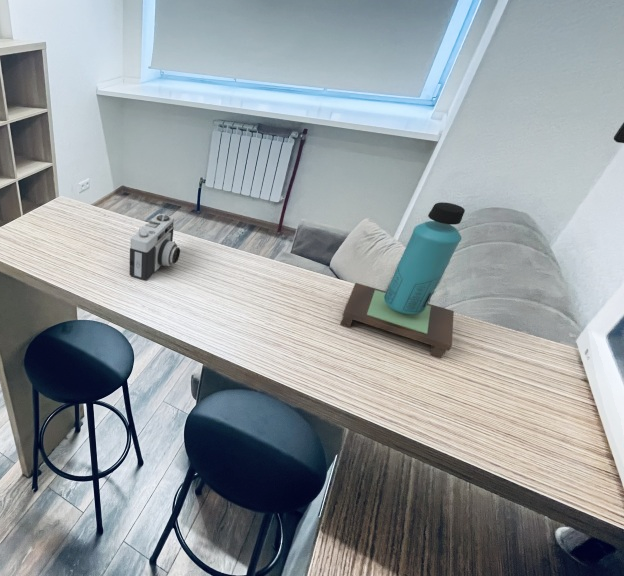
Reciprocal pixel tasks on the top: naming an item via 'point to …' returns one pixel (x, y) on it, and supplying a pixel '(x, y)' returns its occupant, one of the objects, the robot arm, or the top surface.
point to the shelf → (401, 319)
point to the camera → (153, 247)
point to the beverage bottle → (425, 260)
